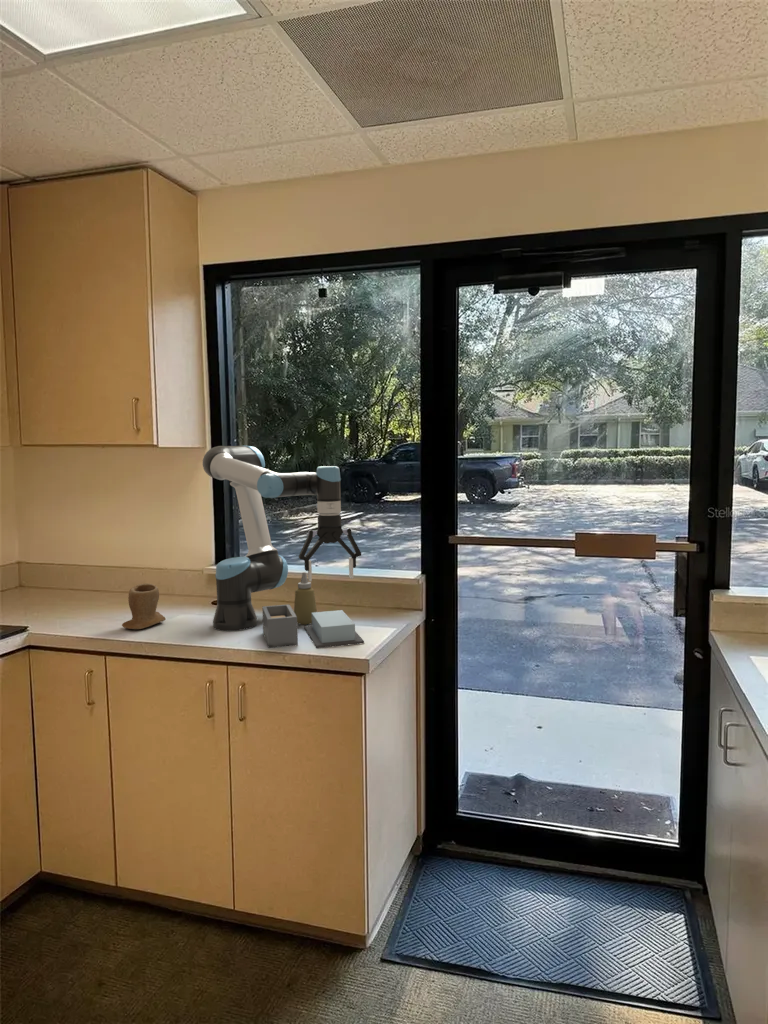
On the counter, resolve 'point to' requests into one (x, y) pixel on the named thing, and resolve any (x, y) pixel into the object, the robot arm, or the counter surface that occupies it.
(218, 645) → the counter surface
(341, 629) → the block
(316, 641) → the mat
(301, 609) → the squeeze bottle
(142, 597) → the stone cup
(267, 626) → the storage box
